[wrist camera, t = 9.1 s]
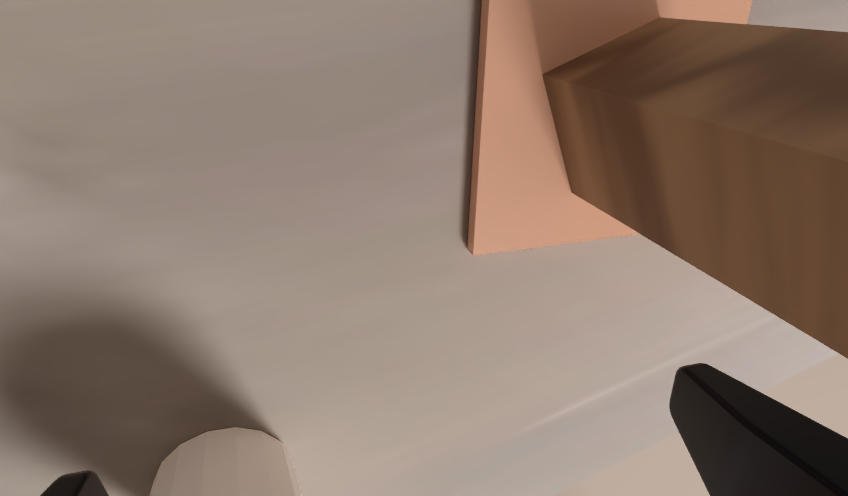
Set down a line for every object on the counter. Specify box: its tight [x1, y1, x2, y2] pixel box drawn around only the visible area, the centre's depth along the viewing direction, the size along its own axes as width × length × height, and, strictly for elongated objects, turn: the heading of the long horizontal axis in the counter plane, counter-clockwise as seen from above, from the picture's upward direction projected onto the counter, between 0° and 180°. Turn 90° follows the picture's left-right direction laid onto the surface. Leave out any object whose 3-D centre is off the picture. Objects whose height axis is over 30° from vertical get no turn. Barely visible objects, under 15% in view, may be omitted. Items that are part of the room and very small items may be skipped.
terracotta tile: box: [467, 0, 752, 255], centre depth 22 cm, size 11×11×1 cm
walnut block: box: [542, 17, 848, 358], centre depth 16 cm, size 5×5×12 cm
